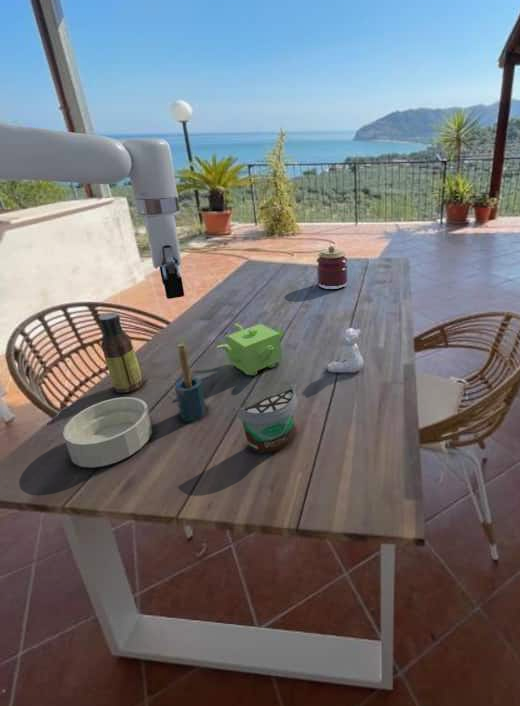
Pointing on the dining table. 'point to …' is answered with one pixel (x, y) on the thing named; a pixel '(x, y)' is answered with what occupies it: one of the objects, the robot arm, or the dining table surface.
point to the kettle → (253, 348)
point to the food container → (269, 422)
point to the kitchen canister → (332, 267)
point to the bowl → (108, 432)
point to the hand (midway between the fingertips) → (173, 289)
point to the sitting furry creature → (348, 354)
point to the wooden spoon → (184, 365)
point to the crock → (190, 400)
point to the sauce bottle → (119, 355)
